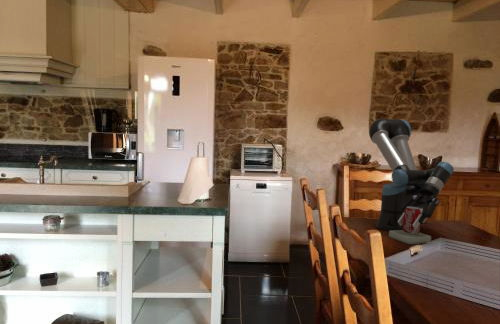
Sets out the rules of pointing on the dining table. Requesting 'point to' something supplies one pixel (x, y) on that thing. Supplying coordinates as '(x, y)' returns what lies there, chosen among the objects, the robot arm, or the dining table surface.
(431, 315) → the dining table surface
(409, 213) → the soda can
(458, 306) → the dining table surface
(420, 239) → the dish
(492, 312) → the dining table surface
